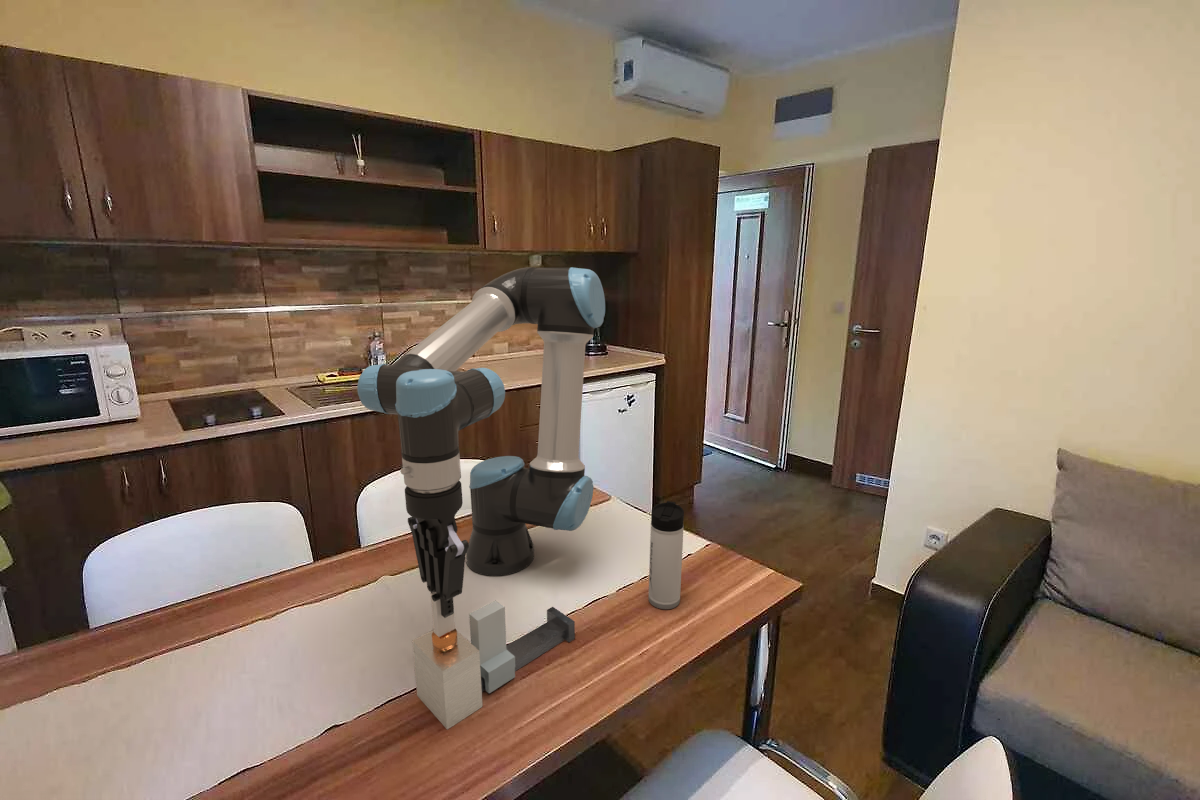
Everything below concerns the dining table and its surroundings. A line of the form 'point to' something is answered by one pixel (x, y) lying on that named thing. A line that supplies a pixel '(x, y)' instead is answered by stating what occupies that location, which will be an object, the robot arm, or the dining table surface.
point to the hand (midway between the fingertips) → (444, 630)
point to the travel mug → (666, 555)
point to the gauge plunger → (444, 641)
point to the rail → (475, 667)
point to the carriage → (492, 645)
